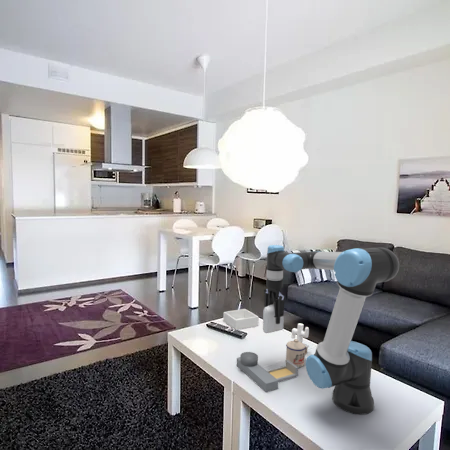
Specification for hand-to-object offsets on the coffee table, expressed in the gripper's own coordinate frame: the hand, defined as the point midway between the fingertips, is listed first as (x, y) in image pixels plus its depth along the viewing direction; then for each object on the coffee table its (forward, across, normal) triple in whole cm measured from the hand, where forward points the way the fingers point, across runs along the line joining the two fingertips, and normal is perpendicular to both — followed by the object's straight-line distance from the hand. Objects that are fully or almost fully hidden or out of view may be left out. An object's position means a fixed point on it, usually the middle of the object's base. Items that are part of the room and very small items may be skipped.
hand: (273, 328), depth 155 cm
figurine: (+18, +6, -21) cm, 29 cm away
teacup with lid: (+19, -2, -13) cm, 23 cm away
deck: (+18, -4, +5) cm, 20 cm away
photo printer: (+1, 0, 0) cm, 1 cm away
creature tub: (+18, +52, -13) cm, 56 cm away
